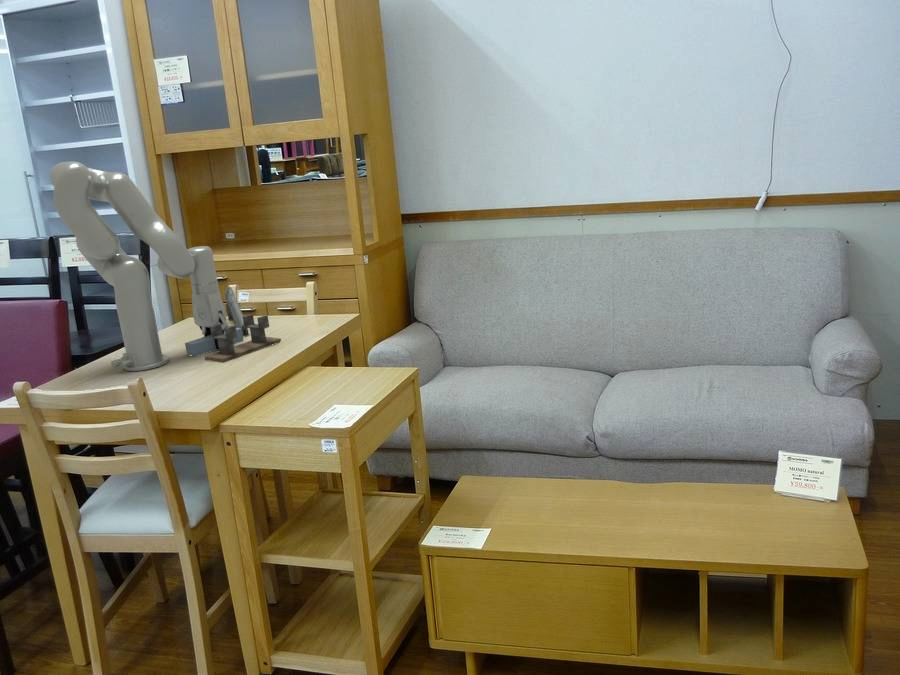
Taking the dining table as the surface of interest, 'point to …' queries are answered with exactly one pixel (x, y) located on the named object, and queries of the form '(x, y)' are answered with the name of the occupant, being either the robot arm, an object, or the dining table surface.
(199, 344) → the rail
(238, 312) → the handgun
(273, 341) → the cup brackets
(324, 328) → the dining table surface
